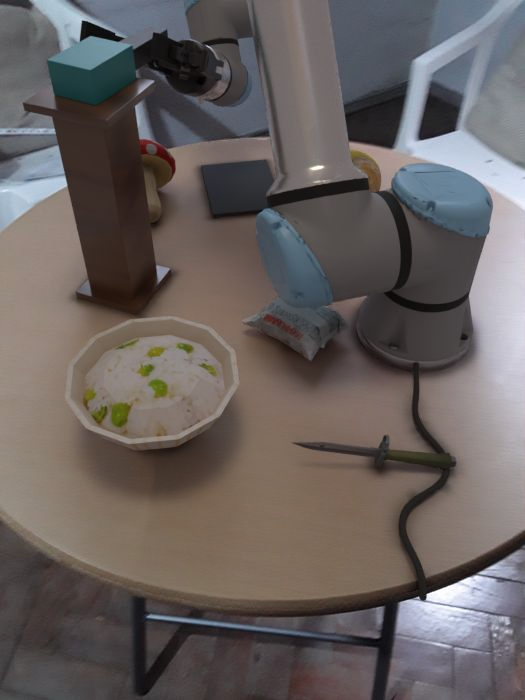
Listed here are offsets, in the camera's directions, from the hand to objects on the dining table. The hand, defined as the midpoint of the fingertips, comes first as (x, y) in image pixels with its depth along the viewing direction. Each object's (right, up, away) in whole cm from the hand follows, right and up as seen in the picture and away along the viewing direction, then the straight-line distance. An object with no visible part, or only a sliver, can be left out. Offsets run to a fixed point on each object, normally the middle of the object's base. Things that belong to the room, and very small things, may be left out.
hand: (118, 38), depth 81 cm
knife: (+30, -50, -4) cm, 58 cm away
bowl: (+5, -46, 0) cm, 46 cm away
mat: (+13, -9, +37) cm, 41 cm away
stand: (-3, -28, +18) cm, 33 cm away
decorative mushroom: (-3, -13, +34) cm, 36 cm away
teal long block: (0, -3, +2) cm, 4 cm away
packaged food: (+22, -35, +11) cm, 43 cm away
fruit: (+31, -14, +32) cm, 47 cm away
